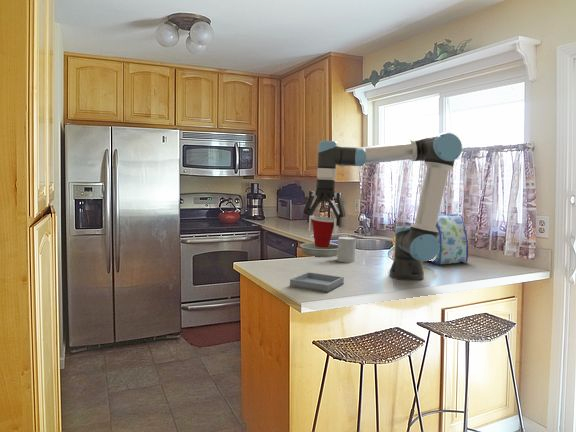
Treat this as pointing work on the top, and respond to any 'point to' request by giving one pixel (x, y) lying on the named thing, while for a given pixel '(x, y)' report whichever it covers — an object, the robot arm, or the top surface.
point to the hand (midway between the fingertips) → (323, 232)
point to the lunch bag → (451, 240)
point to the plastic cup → (322, 230)
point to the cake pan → (319, 250)
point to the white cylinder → (346, 249)
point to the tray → (317, 282)
